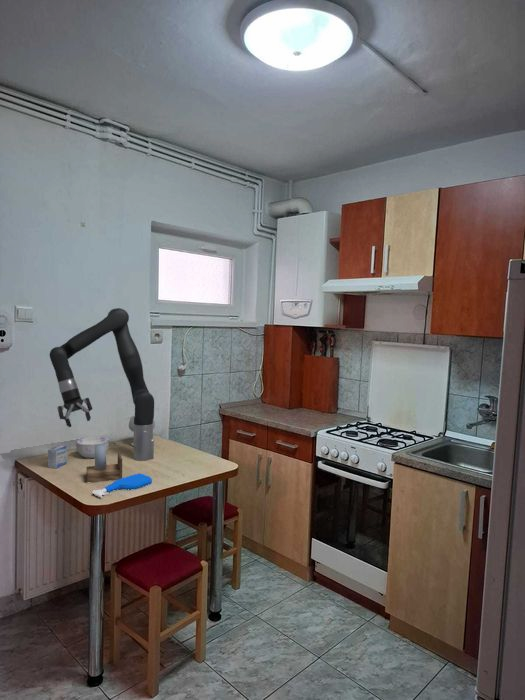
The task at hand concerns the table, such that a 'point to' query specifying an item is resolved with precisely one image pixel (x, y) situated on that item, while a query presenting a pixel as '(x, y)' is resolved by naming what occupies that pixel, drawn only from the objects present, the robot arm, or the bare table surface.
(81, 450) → the paper bowls
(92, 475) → the shelf step
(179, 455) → the table surface
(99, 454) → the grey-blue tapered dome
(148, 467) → the table surface
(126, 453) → the table surface
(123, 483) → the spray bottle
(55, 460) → the medicine box
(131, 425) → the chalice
